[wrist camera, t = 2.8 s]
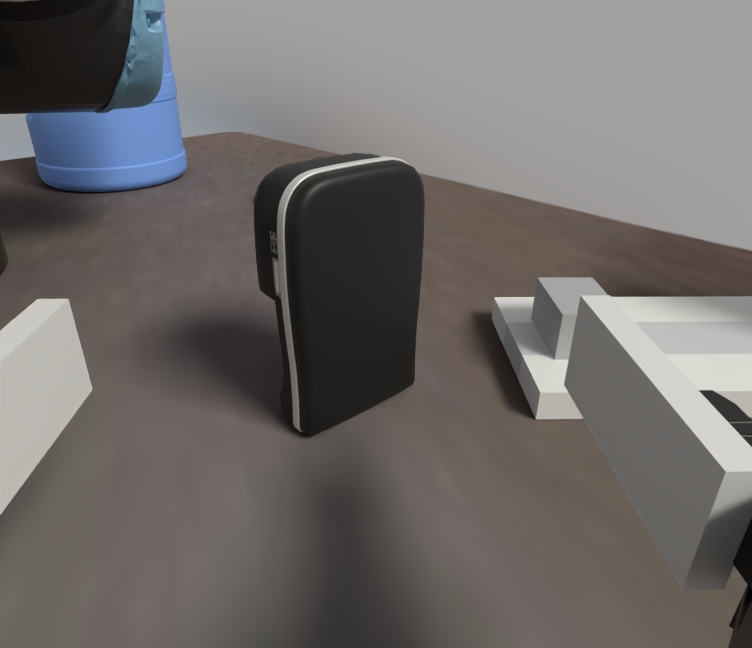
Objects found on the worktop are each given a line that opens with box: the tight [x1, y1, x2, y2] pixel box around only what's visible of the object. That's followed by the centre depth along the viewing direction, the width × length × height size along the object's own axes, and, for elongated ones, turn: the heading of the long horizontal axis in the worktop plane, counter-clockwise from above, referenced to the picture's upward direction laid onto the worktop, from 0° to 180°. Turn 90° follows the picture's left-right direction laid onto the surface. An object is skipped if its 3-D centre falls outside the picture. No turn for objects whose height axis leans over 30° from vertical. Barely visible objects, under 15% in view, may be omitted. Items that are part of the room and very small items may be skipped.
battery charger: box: [254, 153, 425, 435], centre depth 25 cm, size 7×4×11 cm, turn 131°
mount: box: [492, 278, 752, 419], centre depth 28 cm, size 10×20×12 cm, turn 91°
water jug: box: [26, 0, 187, 192], centre depth 59 cm, size 16×16×28 cm
